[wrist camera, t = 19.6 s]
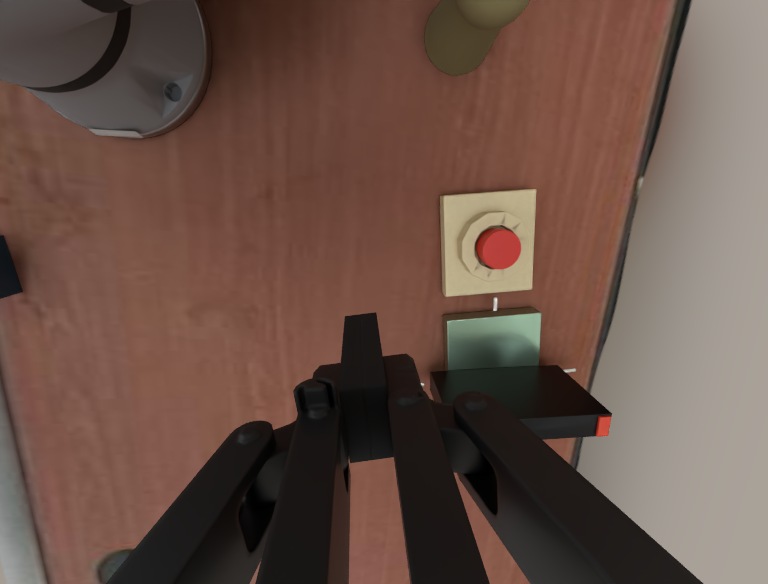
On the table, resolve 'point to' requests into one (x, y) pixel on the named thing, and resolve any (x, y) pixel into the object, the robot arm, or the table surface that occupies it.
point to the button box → (466, 225)
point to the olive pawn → (466, 31)
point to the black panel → (531, 398)
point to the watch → (7, 272)
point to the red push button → (498, 248)
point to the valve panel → (492, 339)
